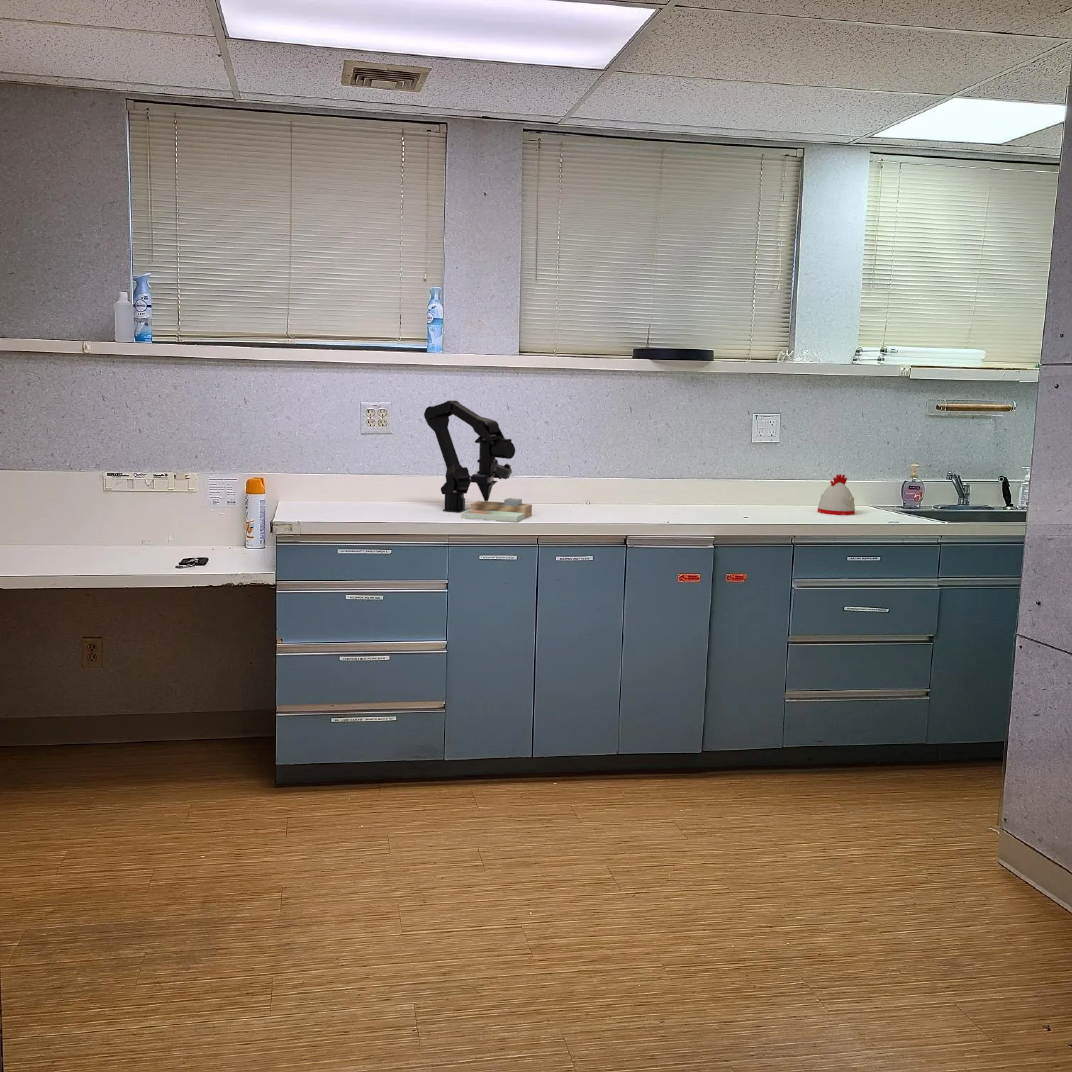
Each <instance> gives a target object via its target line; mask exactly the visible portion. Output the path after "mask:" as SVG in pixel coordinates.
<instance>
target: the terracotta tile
mask: <svg viewBox="0 0 1072 1072" xmlns="http://www.w3.org/2000/svg"><path fill="white" fill-rule="evenodd" d="M469 513H477V514H488V511H487V510H472V511H469Z"/></svg>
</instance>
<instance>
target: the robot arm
mask: <svg viewBox="0 0 1072 1072" xmlns="http://www.w3.org/2000/svg"><path fill="white" fill-rule="evenodd" d="M452 416H455V417H456V418H458V419H460V420H461V421H462V422H464V423H466V424H468V425H469V426H470V427H471V428H472V429H473V432H475V434H477V435H478V437H477V438H476V439H475V440H474V443H475V444H479V447H478V448H479V453H478V454H479V455H478V458H479V459H477V463H478V471H477V472H476V473H473V474H472V475H470V472H469V468H468V467H465V466H462V465H461V463H460V461H459V457H458V454H457V451H456V448H455V446H454V442H453V440H452V437H451V434H450V430H449V422H450V417H452ZM423 417H424V419H425V421H426V424H427V425H428V426H429V428H430V429H431V430H432V431H433V432H434V433H435V434H434V435H435V437H436V441H437V443H438V445H439V449H440V452H441V455H442V459H443V461H444V464H445V467H446V471H445V477H444V478H445V483H444V484H443V485H442V486H441V488H440V492H441V494H442V495H444V509H442V512H454V513H462V512H464V511H466V498H465V495H466V494H468V490H469V487H470V485H471V483H475V484H476V485H477V486H478V487H477V488H478V490H479V491H480V494H481V496H482V499H483V501H489V499H490V496H491V492H492V489H493V486H494V485H495V484H497V483H498V480H503V479H504V480H507V479H509V478H510V476H511V474H512V473H513V471H512V470H513V469H512V468H511V465H510V464H509V463H505V464H504V465H503V464H499V460H498V459H508V460H510V459H512V458H514V456H515V453H516V448H515V444H514V443H513V442H512V439H511V438H505V436H504V434H503V432H502V431H501V429H500V427H499V426H500V425H499V422H498V421H497V420H494V419H491V418H487V417H485V416H484V417H483V416H481V415H479V414H477V413H475V412H474V411H473V410H472V409H469V408H468V407H466V406H465V405H463V404H461V403H460V402H459V401H458V400H447V401H445V402H442V403H439V404H437V405H434V406H433V405H430V406H427V407H426V408H425V410H424V412H423ZM495 479H498V480H495Z"/></svg>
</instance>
